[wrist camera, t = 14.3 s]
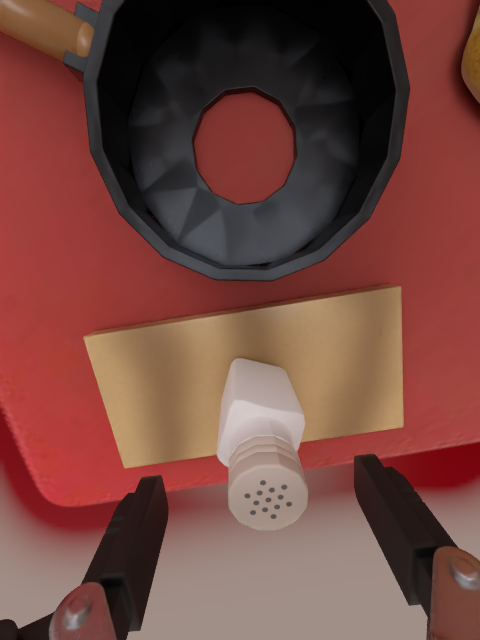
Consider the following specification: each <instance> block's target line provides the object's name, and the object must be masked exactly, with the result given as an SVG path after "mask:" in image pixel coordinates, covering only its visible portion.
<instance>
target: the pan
mask: <svg viewBox="0 0 480 640" xmlns="http://www.w3.org/2000/svg"><path fill="white" fill-rule="evenodd" d="M0 31H1V32H3V33H5V34H7V35H9V36H11V37H13V38H15V39H17V40H19V41H21V42H23V43H25V44H27V45H29V46H31V47H33V48H35V49H37V50H39V51H41V52H43V53H45V54H47V55H49V56H51V57H53V58H55V59H57V60H59V61H61V62H63V64H64V65H65V66H66V67H67V68H68V69H69V70H70V71H71V72H72V74H73V75H74V76H75V77H76V78H77V79H78V80H79V81H80V82H82V83H83V86H84V96H85V106H86V116H87V126H88V136H89V146H90V153H91V155H92V157H93V159H94V161H95V163H96V166H97V168H98V170H99V172H100V174H101V176H102V178H103V180H104V183H105V185H106V187H107V189H108V191H109V193H110V195H111V197H112V200H113V202H114V204H115V206H116V208H117V210H118V212H119V214H120V215H121V216H122V217H123V218H124V219H125V220H126V221H127V222H128V223H129V224H130V225H131V226H132V227H133V228H134V229H135V230H136V231H137V232H138V233H139V234H140V235H141V236H142V237H143V238H144V239H145V240H146V241H147V242H148V243H149V244H150V245H151V246H152V247H153V248H154V249H155V250H156V251H157V252H158V253H159V254H160V255H161V256H162V257H163V258H166V259H168V260H170V261H172V262H175V263H177V264H179V265H182V266H184V267H186V268H189V269H191V270H193V271H196V272H198V273H200V274H202V275H205V276H207V277H209V278H212V279H214V280H227V281H274V280H276V279H279V278H281V277H284V276H286V275H289V274H292V273H294V272H297V271H299V270H302V269H304V268H307V267H309V266H312V265H315V264H317V263H320V262H322V261H324V260H325V259H327V258H328V257H329V256H330V255H331V254H332V253H333V252H334V251H335V250H336V249H337V248H338V247H340V246H341V245H342V244H343V243H344V242H345V241H346V240H347V239H348V238H349V237H350V236H351V235H352V234H354V233H355V232H356V231H357V230H358V229H359V228H360V227H361V226H362V225H363V224H364V223H365V222H367V221H368V219H369V218H370V216H371V214H372V213H373V211H374V209H375V207H376V205H377V203H378V201H379V199H380V197H381V195H382V193H383V191H384V189H385V187H386V185H387V184H388V182H389V180H390V178H391V176H392V174H393V172H394V170H395V168H396V166H397V164H398V162H399V160H400V156H401V149H402V142H403V135H404V128H405V121H406V114H407V107H408V100H409V93H410V85H409V80H408V75H407V70H406V65H405V60H404V55H403V50H402V45H401V40H400V35H399V30H398V25H397V20H396V15H395V13H394V11H393V9H392V8H391V6H390V5H389V3H388V2H387V0H103V1H102V4H101V7H100V11H99V13H98V12H96V11H94V10H92V9H91V8H89V7H87V6H85V5H83V4H81V3H79V2H77V6H76V10H75V14H74V13H72V12H70V11H68V10H66V9H64V8H62V7H60V6H59V5H57V4H55V3H53V2H51V1H49V0H0ZM251 91H254V92H255V93H257V94H259V95H261V96H263V97H265V98H267V99H269V100H271V101H273V102H275V103H276V104H278V105H279V107H280V108H281V110H282V112H283V113H284V115H285V116H286V118H287V120H288V121H289V123H290V125H291V126H292V128H293V130H294V147H295V161H294V164H293V166H292V168H291V171H290V173H289V175H288V177H287V180H286V182H285V184H284V186H282V187H281V188H280V189H279V190H277V191H276V192H275V193H273V194H272V195H271V196H270V197H268V198H267V199H266V200H264V201H263V202H255V203H247V204H238V205H237V204H235V203H233V202H231V201H229V200H226V199H224V198H222V197H220V196H218V195H216V194H214V193H212V191H211V190H210V188H209V187H208V185H207V184H206V183H205V181H204V180H203V178H202V177H201V175H200V174H199V173H198V171H197V165H196V158H195V151H194V143H193V141H194V139H195V136H196V133H197V130H198V127H199V124H200V121H201V119H202V116H203V113H204V112H206V111H207V110H208V109H209V108H210V107H211V106H213V105H214V104H215V103H216V102H217V101H218V100H220V99H221V98H222V97H223V96H224V95H226V94H234V93H243V92H251ZM133 172H134V173H133ZM152 214H153V216H154V217H155V218H156V219H157V220H156V219H155V218H154V217H153V216H152ZM304 246H305V247H304ZM303 247H304V248H303ZM302 248H303V249H302ZM300 249H302V250H301V251H299V250H300ZM267 263H268V264H267ZM258 264H265V265H263V266H258Z"/></svg>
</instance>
